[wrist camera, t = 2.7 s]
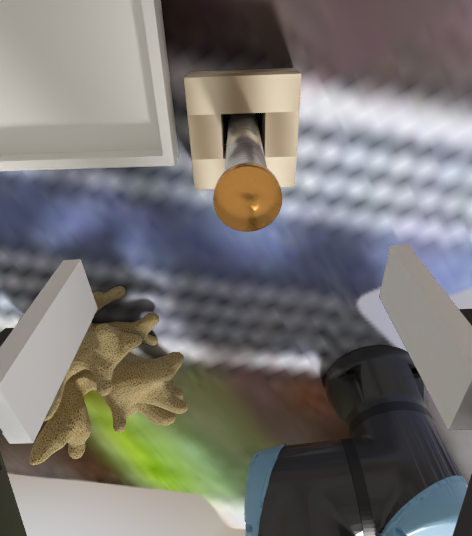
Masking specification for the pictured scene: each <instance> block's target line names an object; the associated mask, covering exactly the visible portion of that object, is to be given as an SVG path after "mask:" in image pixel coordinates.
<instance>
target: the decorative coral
mask: <svg viewBox="0 0 472 536" xmlns="http://www.w3.org/2000/svg"><path fill="white" fill-rule="evenodd" d="M125 294H126V290H125V288H124V287H122V286H116V287H114V288H112V289H110V290H108V291H107V292H105V293H102V292H93V296H94V299H95V302H96V305H97V308H98V309H97V311H98V310H100V309H101V308H102V307H103V306H105V305H107V304H109V303H110V302H112V301H115V300H117V299H120V298H122V297H124V296H125ZM97 311H96V312H97ZM22 317H23V316H22ZM22 317H21V318H22ZM21 318H20V319H21ZM19 321H20V320H19ZM158 322H159V316H158V315H157V314H156V313H154V312H151V313H148V314H147V315H146V316H144V317H143V318H141V319H139V320H137V321H135V322H119V321H115V322H108V323H101V324H93V323H92V322H91V324H90V326H89V328H88V330H87V332H86V334H85V336H84V338H83V340H82V342H81V344H80V346H79V349H78V351H77V353H76V355H75V357H74V359H73V361H72V363H71V365H70V367H69V369H68V371H67V374H66V376H65V378H64V380H63V382H62V384H61V386H60V388H59V390H58V392H57V394H56V396H55V398H54V401H53V403H52V405H51V407H50V409H49V411H48V413H47V415H46V417H45V419H44V421H46V420H48V419H49V420H48V422H47V424H46V425H45V427H44V428H43V430H42V431H41V433H40V434H39V436H38V438H37V440H36V442H35V444H34V446H33V449H32V451H31V454H30V458H29V463H30V464H31V465H37V464H40V463H42V462H44V461H45V460H46V459H47V458H49V457H50V456H51V455H52V454H53V453H54V452H56V451H58V450H60V449H61V448H62V447H63V446H64V445H65V444H66V443H67V442H68V444H69V445H68V452H69V455H70V457H72V458H73V459H78V458H80V457H81V456H82V455H83V453H84V451H85V441H86V440H87V439H88V437H89V436H90V433H91V424H90V420H89V416H88V412H87V408H86V405H85V402H84V395H85V394H87V393H88V392H89V391H91V390H97V392H98V393H99V394H100V395H102V396H103V398H104V400H105V401H106V403H107V404H108V405H109V407H110V408H111V411H112V415H113V428H114V430H115V432H118V433H120V432H122V431H123V430H125V427H126V417H129V416H132V415H133V414H135V413H136V412H137V411H139V412H140V413H142V414H143V415H145V416H146V417H147V418H149V419H150V420H151V421H152V422H153V423H155V424H158V425H170V424H172V423H173V422H174V421H175V415H174V413H177V414H181V413H184V412H186V411H187V409H188V405H187V403H186V402H184V401H183V391H182V390H181V389H180V388H178V387H175V386H173V377H174V376H175V373H176V372H177V371H178V369H179V368H180V366H181V365H182V363H183V360H184V359H183V355H182V354H181V353H180V352H172V353H169V354H167V355H165V356H162V357H159V358H155V359H144V358H141V357H138V356H136V355H134V354H132V353H131V352H130V351H131V350H133V349H134V348H136V347H137V346H139V345H140V344H141V343H144V344H148V345H151V346H154V345H156V344H157V342H158V339H157V338H156V337H155V336H152V335H148V333H149V332H150V331H151V330H152V329H153V328H154V327H155V326H156V325H157V323H158Z"/></svg>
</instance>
